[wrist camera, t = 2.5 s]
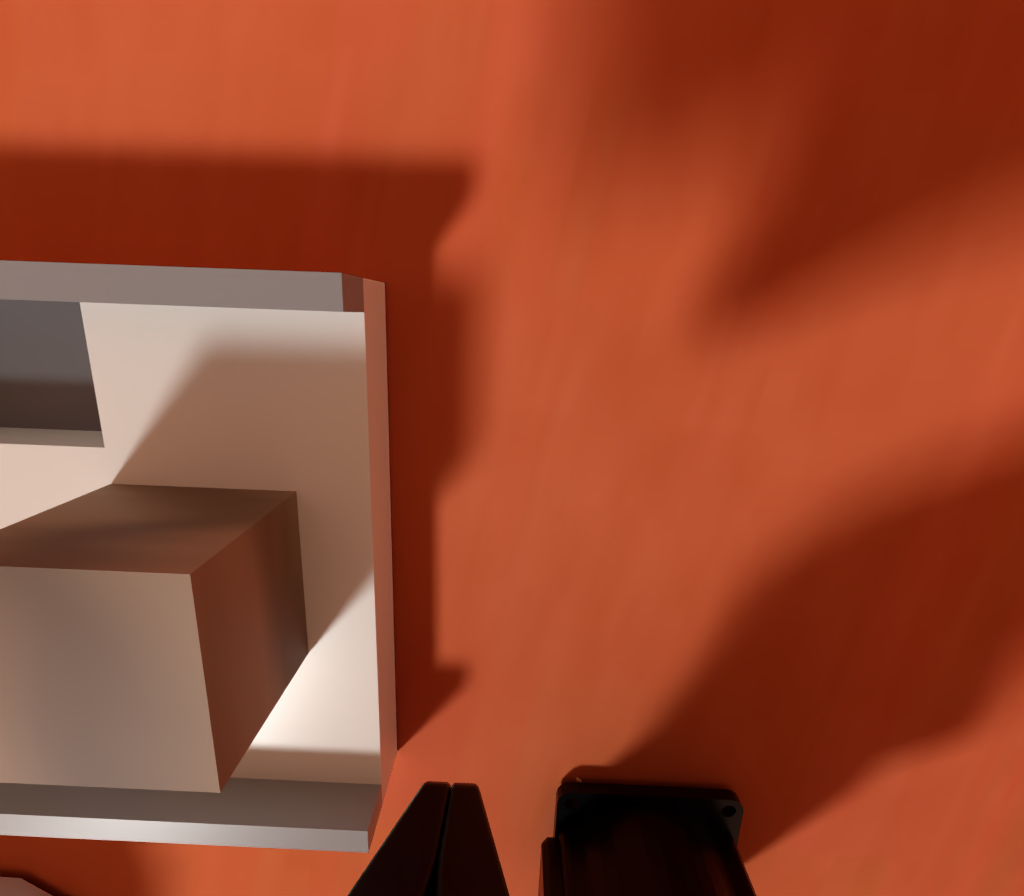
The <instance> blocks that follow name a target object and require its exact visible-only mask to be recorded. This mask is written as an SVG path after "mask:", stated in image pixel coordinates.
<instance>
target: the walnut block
mask: <svg viewBox="0 0 1024 896" xmlns="http://www.w3.org/2000/svg"><path fill="white" fill-rule="evenodd" d="M308 653H309V652H308V638H307V625H306V612H305V599H304V586H303V572H302V559H301V546H300V533H299V520H298V507H297V493H296V491H276V490H251V489H227V488H202V487H178V486H153V485H129V484H109V485H107V486H104V487H102V488H99V489H97V490H95V491H92V492H90V493H87V494H85V495H82V496H80V497H78V498H75V499H73V500H70V501H68V502H65V503H63V504H61V505H58V506H56V507H53V508H51V509H48V510H46V511H43V512H41V513H39V514H36V515H34V516H31V517H29V518H26V519H24V520H22V521H19V522H17V523H14V524H12V525H9V526H7V527H5V528H2V529H0V783H21V784H42V785H64V786H85V787H106V788H128V789H149V790H170V791H192V792H213V793H220V792H221V791H222V789H223V788H224V786H225V784H226V783H227V781H228V780H229V778H230V777H231V775H232V773H233V772H234V770H235V769H236V767H237V765H238V764H239V762H240V761H241V759H242V758H243V756H244V754H245V753H246V751H247V750H248V748H249V747H250V745H251V743H252V742H253V740H254V739H255V737H256V735H257V734H258V732H259V731H260V729H261V728H262V726H263V724H264V723H265V721H266V720H267V718H268V716H269V715H270V713H271V712H272V710H273V709H274V707H275V705H276V704H277V702H278V701H279V699H280V697H281V696H282V694H283V693H284V691H285V690H286V688H287V686H288V685H289V683H290V682H291V680H292V678H293V677H294V675H295V674H296V672H297V671H298V669H299V667H300V666H301V664H302V663H303V661H304V659H305V658H306V656H307V655H308Z"/></svg>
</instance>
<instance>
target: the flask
mask: <svg viewBox="0 0 1024 896" xmlns="http://www.w3.org/2000/svg"><path fill="white" fill-rule="evenodd" d="M0 896H52V895H50V894H49V893H47V892H45V891H43V890H41V889H39V888H38V887H36V886H34V885H32V884H30V883H29V882H27V881H25V880H23V879H21V878H11V877H0Z"/></svg>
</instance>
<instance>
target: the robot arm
mask: <svg viewBox="0 0 1024 896" xmlns="http://www.w3.org/2000/svg"><path fill="white" fill-rule="evenodd" d="M569 798H574V799H569ZM742 815H743V807H742V805H741V802H740V800H739V798H738V796H737V795H736V793H734V792H733V791H731V790H724V789H703V788H681V787H660V786H638V785H616V784H595V783H573V782H570V783H565V784H563V785H561V786H560V787H559V788H558V790H557V793H556V806H555V819H554V833H553V837H547V838H546V839H545V840H544V842H543V843H542V845H541V860H540V876H539V891H538V896H756V894H755V891H754V889H753V886H752V884H751V881H750V879H749V876H748V874H747V871H746V869H745V866H744V864H743V861H742V859H741V856H740V854H739V851H738V849H737V841H738V836H739V830H740V825H741V820H742ZM348 896H509V893H508V889H507V886H506V882H505V878H504V875H503V871H502V868H501V864H500V861H499V857H498V854H497V850H496V846H495V843H494V839H493V836H492V832H491V829H490V825H489V822H488V818H487V814H486V811H485V807H484V804H483V800H482V797H481V793H480V790H479V787H478V786H477V785H476V784H473V783H454V784H453V785H452V787H451V785H450V784H449V783H447V782H433V781H428V782H426V783H424V784H423V785H422V787H421V788H420V789H419V791H418V792H417V794H416V795H415V797H414V798H413V800H412V801H411V803H410V804H409V806H408V807H407V809H406V810H405V812H404V813H403V815H402V816H401V818H400V819H399V820H398V822H397V823H396V825H395V826H394V828H393V829H392V831H391V832H390V834H389V835H388V837H387V838H386V840H385V841H384V843H383V844H382V846H381V847H380V849H379V850H378V852H377V853H376V854H375V856H374V857H373V859H372V860H371V862H370V863H369V865H368V866H367V868H366V869H365V871H364V872H363V874H362V875H361V877H360V878H359V880H358V881H357V883H356V884H355V886H354V887H353V888H352V890H351V891H350V893H349V894H348Z"/></svg>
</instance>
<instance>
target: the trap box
mask: <svg viewBox="0 0 1024 896" xmlns="http://www.w3.org/2000/svg"><path fill="white" fill-rule="evenodd" d="M109 484H129V485H153V486H178V487H202V488H227V489H251V490H276V491H296V493H297V507H298V520H299V533H300V546H301V559H302V572H303V586H304V599H305V612H306V625H307V638H308V652H309V653H308V655H307V656H306V658H305V659H304V661H303V663H302V664H301V666H300V667H299V669H298V671H297V672H296V674H295V675H294V677H293V678H292V680H291V682H290V683H289V685H288V686H287V688H286V690H285V691H284V693H283V694H282V696H281V697H280V699H279V701H278V702H277V704H276V705H275V707H274V709H273V710H272V712H271V713H270V715H269V716H268V718H267V720H266V721H265V723H264V724H263V726H262V728H261V729H260V731H259V732H258V734H257V735H256V737H255V739H254V740H253V742H252V743H251V745H250V747H249V748H248V750H247V751H246V753H245V754H244V756H243V758H242V759H241V761H240V762H239V764H238V765H237V767H236V769H235V770H234V772H233V773H232V775H231V777H230V778H229V780H228V781H227V783H226V784H225V786H224V788H223V789H222V791H221V792H220V793H213V792H192V791H170V790H149V789H128V788H106V787H85V786H64V785H42V784H21V783H0V835H10V836H31V837H52V838H73V839H94V840H115V841H136V842H157V843H178V844H198V845H219V846H240V847H261V848H282V849H303V850H324V851H345V852H365V853H369V849H370V846H371V842H372V839H373V835H374V832H375V828H376V825H377V821H378V818H379V814H380V811H381V807H382V804H383V800H384V797H385V793H386V790H387V786H388V783H389V779H390V776H391V772H392V769H393V765H394V762H395V758H396V755H397V728H396V690H395V652H394V614H393V576H392V538H391V500H390V462H389V424H388V386H387V348H386V310H385V283H384V282H379V281H375V280H371V279H366V278H362V277H358V276H353V275H349V274H345V273H335V272H307V271H280V270H252V269H225V268H197V267H170V266H142V265H115V264H87V263H60V262H32V261H5V260H0V529H2V528H5V527H7V526H9V525H12V524H14V523H17V522H19V521H22V520H24V519H26V518H29V517H31V516H34V515H36V514H39V513H41V512H43V511H46V510H48V509H51V508H53V507H56V506H58V505H61V504H63V503H65V502H68V501H70V500H73V499H75V498H78V497H80V496H82V495H85V494H87V493H90V492H92V491H95V490H97V489H99V488H102V487H104V486H107V485H109Z"/></svg>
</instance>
